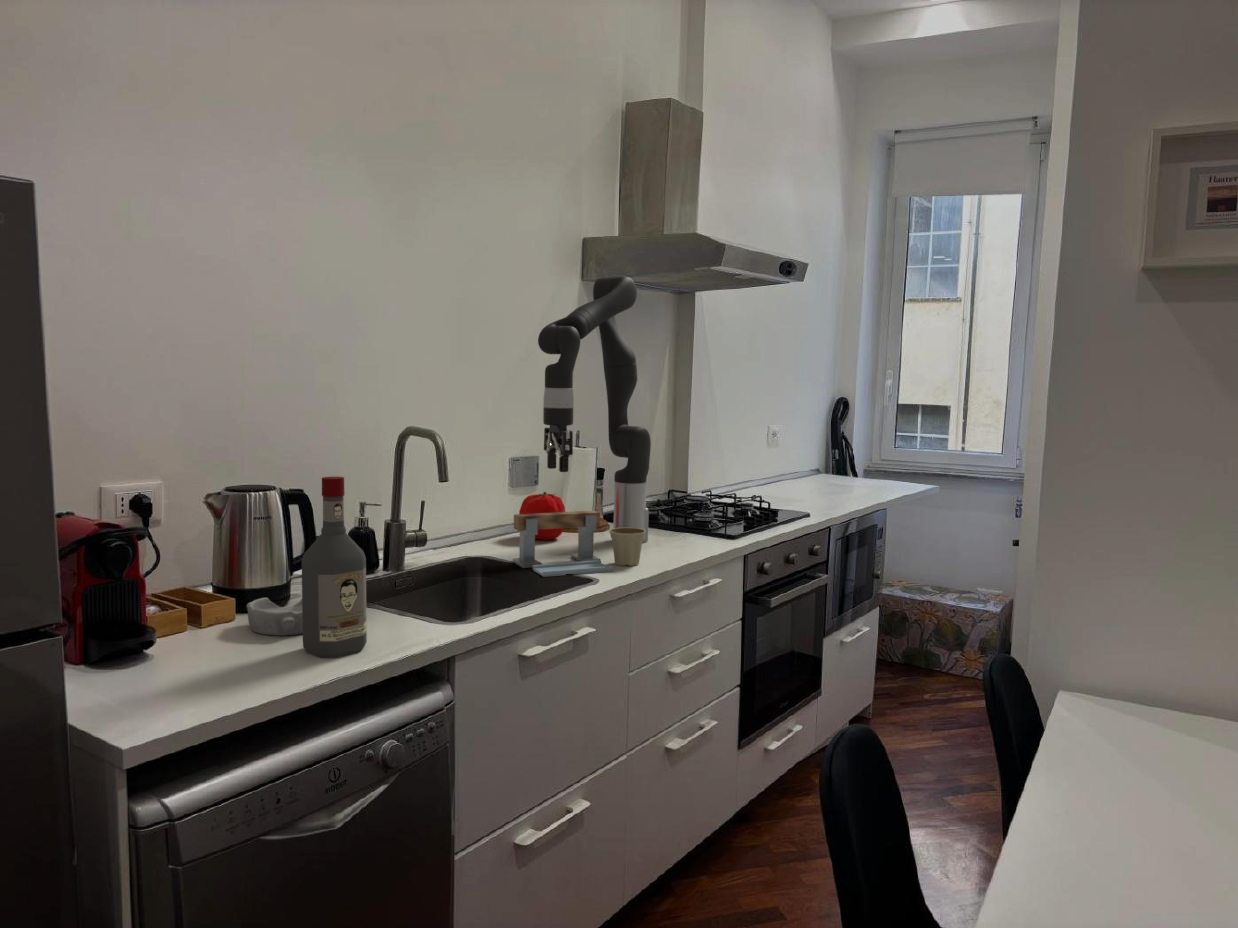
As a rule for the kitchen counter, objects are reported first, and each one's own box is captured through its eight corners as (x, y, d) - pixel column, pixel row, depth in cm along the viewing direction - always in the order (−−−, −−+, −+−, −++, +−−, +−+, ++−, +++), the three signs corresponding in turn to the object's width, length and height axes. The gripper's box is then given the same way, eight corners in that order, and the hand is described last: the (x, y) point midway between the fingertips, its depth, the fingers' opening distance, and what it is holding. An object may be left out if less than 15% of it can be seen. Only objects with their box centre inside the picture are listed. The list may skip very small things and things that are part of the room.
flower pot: (602, 565, 232) (603, 531, 231) (616, 558, 240) (616, 526, 239) (637, 569, 228) (638, 534, 227) (650, 562, 237) (650, 529, 236)
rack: (588, 556, 243) (589, 511, 242) (600, 562, 236) (601, 515, 234) (512, 561, 234) (512, 515, 233) (522, 567, 227) (523, 520, 226)
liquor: (297, 649, 159) (294, 477, 156) (344, 638, 166) (342, 473, 163) (325, 661, 153) (322, 482, 150) (372, 649, 160) (371, 478, 157)
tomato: (560, 544, 258) (560, 496, 257) (512, 542, 260) (513, 494, 259) (572, 534, 274) (572, 489, 272) (527, 532, 276) (527, 487, 274)
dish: (237, 626, 173) (237, 600, 172) (309, 614, 182) (309, 589, 182) (267, 644, 162) (266, 616, 162) (341, 630, 171) (341, 604, 171)
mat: (599, 564, 232) (599, 560, 232) (612, 571, 225) (613, 566, 225) (532, 570, 225) (532, 565, 225) (543, 576, 217) (543, 571, 217)
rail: (594, 523, 240) (594, 510, 240) (599, 525, 237) (599, 512, 237) (513, 528, 231) (513, 514, 230) (518, 530, 228) (518, 516, 227)
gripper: (583, 407, 226) (582, 472, 228) (562, 405, 239) (561, 466, 240) (554, 407, 223) (553, 473, 224) (534, 404, 236) (534, 467, 237)
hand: (557, 470), depth 232 cm, fingers open, 8 cm apart
